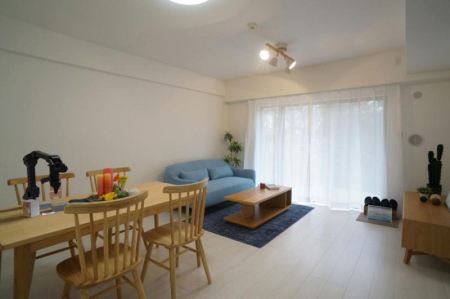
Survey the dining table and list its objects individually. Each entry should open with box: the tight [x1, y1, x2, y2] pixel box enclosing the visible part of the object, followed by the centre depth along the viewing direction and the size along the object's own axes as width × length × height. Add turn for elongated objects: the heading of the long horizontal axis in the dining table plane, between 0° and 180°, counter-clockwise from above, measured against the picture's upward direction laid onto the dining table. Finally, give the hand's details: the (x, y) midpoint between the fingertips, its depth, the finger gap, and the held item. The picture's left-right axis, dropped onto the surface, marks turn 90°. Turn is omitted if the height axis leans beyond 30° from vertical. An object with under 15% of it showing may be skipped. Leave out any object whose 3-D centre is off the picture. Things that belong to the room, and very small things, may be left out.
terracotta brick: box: [48, 189, 62, 198], centre depth 168 cm, size 5×7×4 cm
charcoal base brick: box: [50, 201, 69, 212], centre depth 170 cm, size 8×10×4 cm
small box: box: [22, 199, 41, 218], centre depth 157 cm, size 8×6×10 cm
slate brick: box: [39, 201, 52, 210], centre depth 173 cm, size 5×7×4 cm
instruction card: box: [41, 211, 55, 216], centre depth 161 cm, size 5×7×1 cm
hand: (55, 193), depth 168 cm, fingers closed on terracotta brick, 5 cm apart
